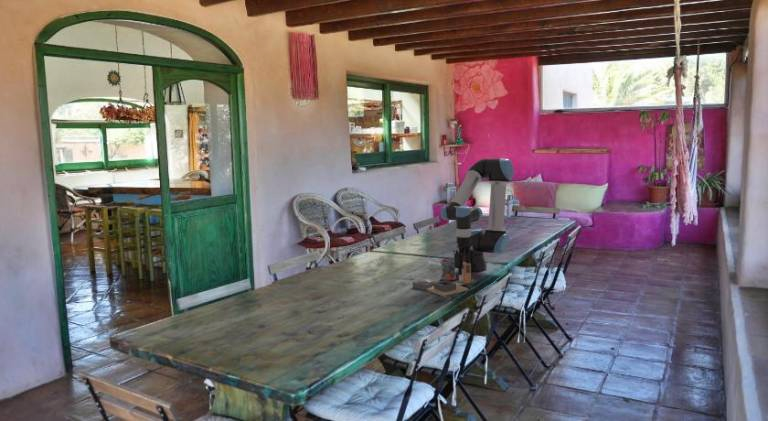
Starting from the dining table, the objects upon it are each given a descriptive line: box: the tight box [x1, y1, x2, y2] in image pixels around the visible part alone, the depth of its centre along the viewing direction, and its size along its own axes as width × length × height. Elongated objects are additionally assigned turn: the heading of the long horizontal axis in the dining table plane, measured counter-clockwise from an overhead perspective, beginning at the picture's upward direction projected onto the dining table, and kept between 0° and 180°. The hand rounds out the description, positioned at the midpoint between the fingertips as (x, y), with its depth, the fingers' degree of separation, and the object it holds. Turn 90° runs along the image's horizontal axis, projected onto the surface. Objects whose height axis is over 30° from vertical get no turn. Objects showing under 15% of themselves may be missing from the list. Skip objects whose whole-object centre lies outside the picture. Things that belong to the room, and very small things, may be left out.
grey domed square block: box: [411, 277, 440, 292], centre depth 300 cm, size 10×10×4 cm
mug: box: [439, 258, 457, 282], centre depth 314 cm, size 12×9×11 cm
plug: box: [458, 262, 472, 285], centre depth 299 cm, size 4×6×10 cm
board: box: [427, 280, 469, 297], centre depth 293 cm, size 16×16×4 cm
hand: (464, 279), depth 300 cm, fingers closed on plug, 4 cm apart
